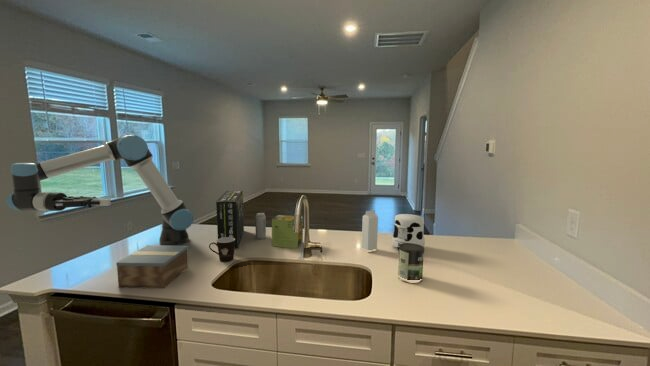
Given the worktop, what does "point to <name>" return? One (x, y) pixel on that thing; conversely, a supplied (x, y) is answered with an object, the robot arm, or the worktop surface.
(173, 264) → the walnut box
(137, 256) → the lid
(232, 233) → the router box
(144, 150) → the robot arm
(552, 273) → the worktop surface
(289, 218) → the protein box
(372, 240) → the milk
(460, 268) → the worktop surface
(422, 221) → the milk container
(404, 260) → the coffee can
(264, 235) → the energy drink can
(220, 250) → the coffee mug
